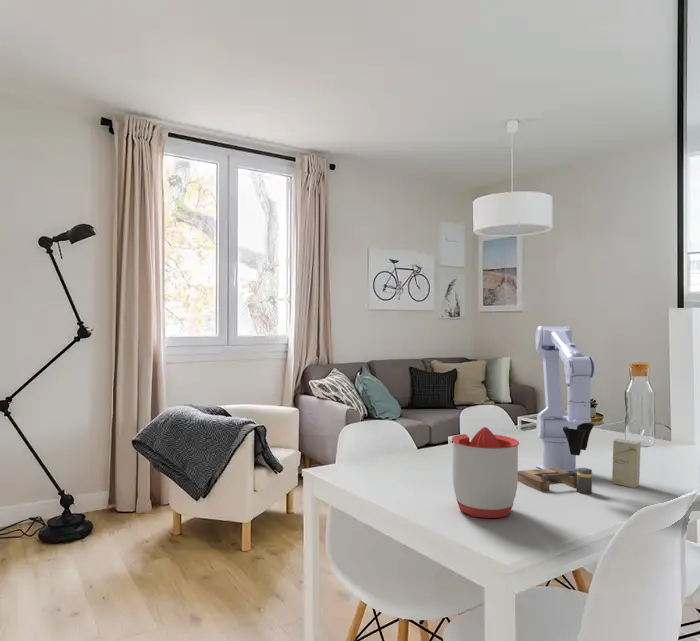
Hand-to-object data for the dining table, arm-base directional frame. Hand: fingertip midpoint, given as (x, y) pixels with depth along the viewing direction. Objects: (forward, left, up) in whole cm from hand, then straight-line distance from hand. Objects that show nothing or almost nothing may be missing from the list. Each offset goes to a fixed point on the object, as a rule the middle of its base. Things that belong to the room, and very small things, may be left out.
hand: (578, 452), depth 147 cm
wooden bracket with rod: (+3, -9, -10) cm, 14 cm away
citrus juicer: (+32, +5, -11) cm, 35 cm away
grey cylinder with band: (-1, +1, -10) cm, 11 cm away
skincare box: (-18, -2, -11) cm, 21 cm away
